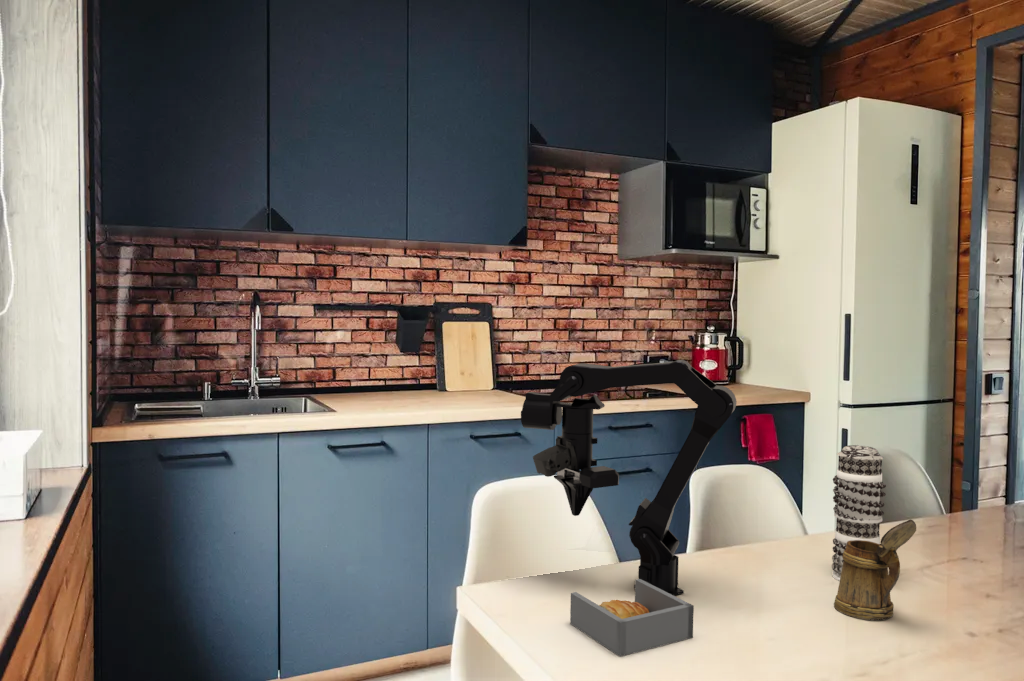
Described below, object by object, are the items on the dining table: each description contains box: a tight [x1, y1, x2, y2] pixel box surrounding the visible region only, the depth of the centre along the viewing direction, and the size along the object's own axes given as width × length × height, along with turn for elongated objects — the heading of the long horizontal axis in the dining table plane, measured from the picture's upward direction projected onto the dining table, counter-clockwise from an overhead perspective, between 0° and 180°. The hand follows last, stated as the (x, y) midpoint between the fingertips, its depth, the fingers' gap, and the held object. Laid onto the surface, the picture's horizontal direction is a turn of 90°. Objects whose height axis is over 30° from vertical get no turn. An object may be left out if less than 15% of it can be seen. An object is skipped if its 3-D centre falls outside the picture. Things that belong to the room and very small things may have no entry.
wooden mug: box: [833, 519, 917, 621], centre depth 127 cm, size 9×14×18 cm, turn 20°
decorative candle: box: [831, 444, 887, 582], centre depth 145 cm, size 9×9×25 cm
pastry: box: [598, 599, 649, 619], centre depth 123 cm, size 9×7×4 cm
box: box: [569, 578, 695, 657], centre depth 120 cm, size 14×13×5 cm
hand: (575, 515), depth 142 cm, fingers closed
